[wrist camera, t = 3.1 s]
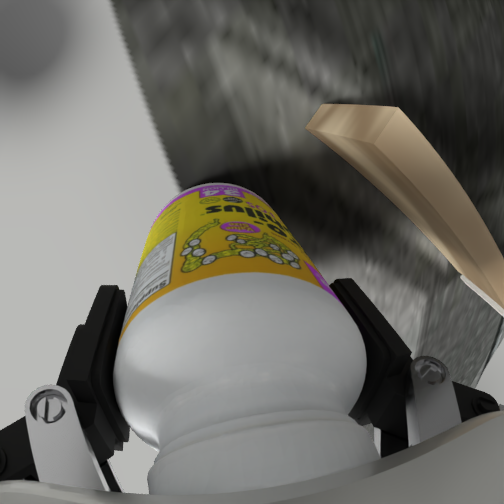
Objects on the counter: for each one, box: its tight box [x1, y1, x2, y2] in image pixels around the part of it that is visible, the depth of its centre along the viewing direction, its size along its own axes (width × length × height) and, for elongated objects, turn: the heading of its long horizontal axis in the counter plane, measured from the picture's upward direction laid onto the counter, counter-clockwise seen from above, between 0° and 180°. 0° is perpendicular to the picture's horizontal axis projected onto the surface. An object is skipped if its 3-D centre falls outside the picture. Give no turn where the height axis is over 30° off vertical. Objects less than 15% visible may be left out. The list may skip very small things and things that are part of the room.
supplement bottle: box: [113, 183, 381, 495], centre depth 10 cm, size 7×7×13 cm
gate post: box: [460, 275, 504, 317], centre depth 17 cm, size 2×2×9 cm
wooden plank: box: [305, 104, 504, 309], centre depth 14 cm, size 2×18×6 cm, turn 56°
